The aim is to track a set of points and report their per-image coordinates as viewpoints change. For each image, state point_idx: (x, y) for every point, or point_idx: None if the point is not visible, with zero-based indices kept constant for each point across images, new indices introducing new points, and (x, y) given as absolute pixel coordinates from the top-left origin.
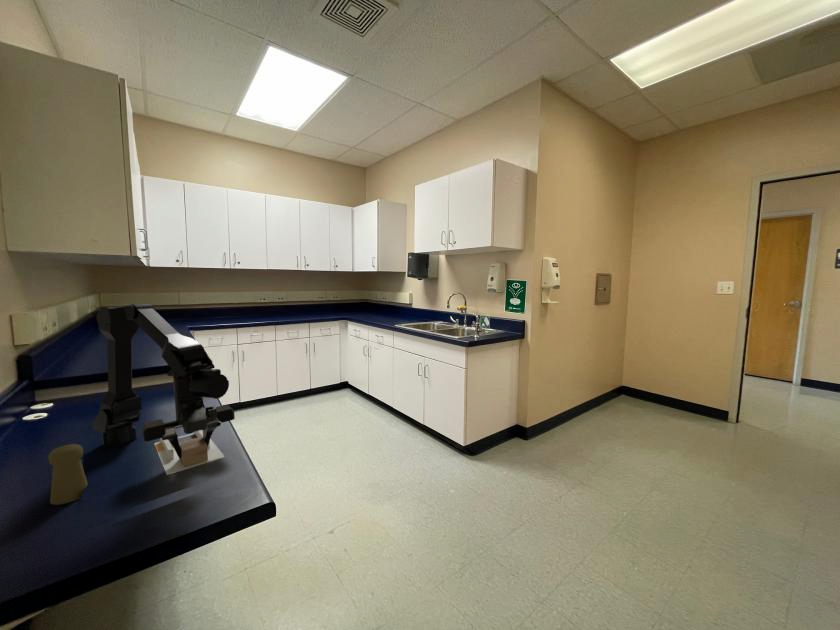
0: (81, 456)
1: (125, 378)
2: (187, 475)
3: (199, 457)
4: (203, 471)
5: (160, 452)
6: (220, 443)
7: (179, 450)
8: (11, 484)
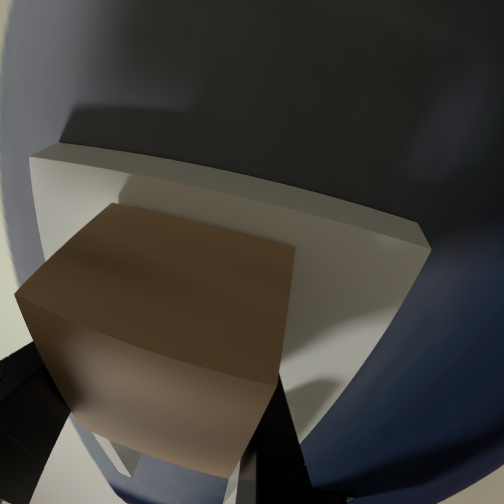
0: None
1: None
2: (296, 175)
3: (149, 241)
4: (189, 129)
5: None
6: None
7: (264, 423)
8: (486, 474)
